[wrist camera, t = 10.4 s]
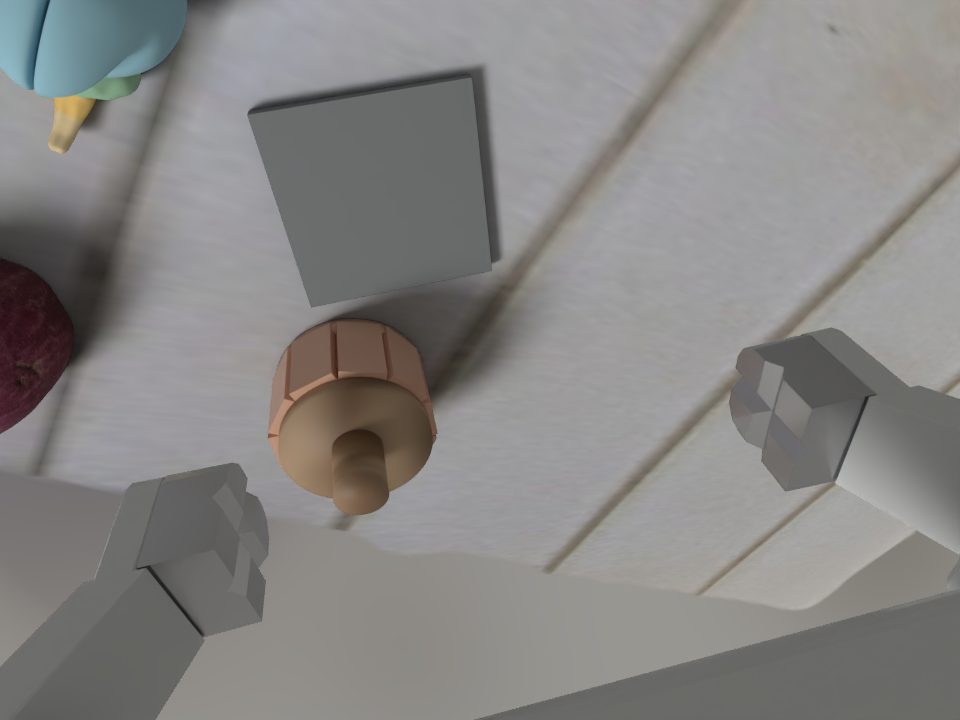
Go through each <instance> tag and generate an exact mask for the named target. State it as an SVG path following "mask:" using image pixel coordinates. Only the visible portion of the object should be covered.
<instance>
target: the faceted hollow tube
mask: <svg viewBox="0 0 960 720" xmlns="http://www.w3.org/2000/svg"><path fill="white" fill-rule="evenodd" d="M348 377H373V378H379V379H384V380H387V381H391V382H393V383H396V384H398V385H400V386H402V387H404V388H406V389H407V390H409V391H410V392H412V393H413V394H414V395H415V396H416V397H417V398H418V399H419V400H420V401H421V402H422V404H423V405H424V407H425V409H426V411H427V413H428V416H429V420H430V424H431V429H432V435H433V443H434V442H435V440H436V434H438V433H437V429H436V424H435V419H434V414H433V410H432V405H431V400H430V396H429V391H428V387H427V383H426V378H425V374H424V370H423V365H422V361H421V357H420V352H419V353H418V352H417V348H416V347H414V346H413V344H412V343H411V342H410V341H409V340H408V339H407V338H406V337H405V336H404V335H402V334H401V333H400V332H398V331H397V330H395V329H393V328H391V327H389V326H387V325H385V324H382V323H379V322H375V321H371V320H365V319H340V320H334V321H330V322H326V323H323V324H320V325H317V326H315V327H313V328H311V329H309V330H307V331H305V332H304V333H303V334H301V335H300V336H298V337H297V338H296V339H295V340H294V341H293V342H292V343H291V344H290V345H289V346H288V347H287V349H286V350H285V351H284V353H283V355H282V357H281V359H280V361H279V364H278V368H277V371H276V373H275V375H274V377H273V384H272V395H271V405H270V416H269V427H268V440H269V442H270V444H271V446H272V448H273V450H274V453H275V455H276V457H277V459H278V461H279V464H280V466H281V468H282V469H283V467H282V465H281V463H280V460H279V455H278V442H279V430H280V425H281V422H282V420H283V417H284V415H285V414H286V412H287V410H288V409H289V408H290V406H291V405H292V404H293V403H294V402H295V401H296V400H297V399H298V398H299V397H300V396H302V395H303V394H305V393H306V392H308V391H309V390H311V389H313V388H315V387H317V386H319V385H321V384H324V383H326V382H329V381H333V380H337V379H342V378H348Z"/></svg>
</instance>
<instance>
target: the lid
mask: <svg viewBox="0 0 960 720" xmlns="http://www.w3.org/2000/svg"><path fill="white" fill-rule="evenodd" d="M432 445H433V435H432V429H431V424H430V420H429V416H428V413H427V411H426V409H425V407H424V405H423V404H422V402H421V401H420V400H419V399H418V398H417V397H416V396H415V395H414V394H413V393H412V392H410V391H409V390H407V389H406V388H404V387H402V386H400V385H398V384H396V383H393V382H391V381H387V380H384V379H379V378H373V377H348V378H342V379H337V380H333V381H329V382H326V383H324V384H321V385H319V386H317V387H315V388H313V389H311V390H309V391H308V392H306V393H305V394H303V395H302V396H300V397H299V398H298V399H297V400H296V401H295V402H294V403H293V404H292V405H291V406H290V408H289V409H288V410H287V412H286V414H285V415H284V417H283V420H282V422H281V425H280V430H279V442H278V455H279V460H280V463H281V465H282V467H283V469H284V471H285V472H286V474H287V475H288V476H289V477H290V479H292V480H293V481H294V482H295V483H296V484H297V485H299V486H300V487H302V488H303V489H305V490H307V491H309V492H311V493H314V494H317V495H320V496H323V497H327V498H333V501H334V504H335V506H336V507H337V508H338V509H339V510H341V511H342V512H344V513H347V514H352V515H364V514H368V513H372V512H374V511H376V510H378V509H380V508H381V507H382V506H383V505H384V504H385V503H386V502H387V500H388V498H389V492H390V491H392V490H394V489H396V488H398V487H400V486H402V485H403V484H405V483H407V482H408V481H409V480H411V479H412V478H413V477H414V476H415V475H416V474H417V473H418V472H419V471H420V470H421V469H422V468H423V466H424V465H425V463H426V462H427V460H428V458H429V456H430V453H431V450H432Z"/></svg>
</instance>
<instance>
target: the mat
mask: <svg viewBox="0 0 960 720" xmlns="http://www.w3.org/2000/svg"><path fill="white" fill-rule="evenodd" d="M248 118H249V121H250V124H251V127H252V130H253V133H254V136H255V139H256V143H257V146H258V149H259V152H260V155H261V158H262V161H263V164H264V167H265V170H266V173H267V176H268V179H269V182H270V185H271V188H272V191H273V194H274V197H275V200H276V203H277V206H278V209H279V212H280V215H281V218H282V221H283V224H284V227H285V230H286V233H287V236H288V239H289V242H290V245H291V248H292V251H293V254H294V257H295V260H296V263H297V266H298V269H299V272H300V275H301V278H302V281H303V284H304V287H305V290H306V293H307V296H308V299H309V302H310V305H311V307H316V306H321V305H326V304H331V303H335V302H340V301H345V300H350V299H355V298H360V297H365V296H370V295H375V294H380V293H385V292H390V291H395V290H400V289H405V288H410V287H415V286H420V285H425V284H430V283H435V282H439V281H444V280H449V279H454V278H459V277H464V276H469V275H474V274H479V273H484V272H489V271H492V265H491V255H490V246H489V236H488V227H487V217H486V208H485V198H484V188H483V179H482V169H481V160H480V150H479V141H478V131H477V121H476V112H475V102H474V93H473V83H472V77H471V76H470V75H469V74H468V75H462V76H456V77H450V78H444V79H438V80H432V81H426V82H420V83H413V84H407V85H401V86H395V87H389V88H383V89H377V90H371V91H365V92H359V93H353V94H347V95H341V96H335V97H329V98H323V99H317V100H311V101H305V102H299V103H293V104H287V105H281V106H275V107H269V108H263V109H257V110H251V111H249V112H248Z"/></svg>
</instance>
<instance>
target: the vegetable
mask: <svg viewBox="0 0 960 720" xmlns="http://www.w3.org/2000/svg"><path fill="white" fill-rule="evenodd" d="M73 336H74V334H73V326H72V324H71V320H70V318H69V316H68V314H67V313H66V312H65V310H64V308H63V306H62V304H61V303H60V301H59V300H58V298H57V297H56V295H55V294H54V293H53V291H52V290H51V288H50V287H49V286H48V285H47V284H46V282H44V280H43V279H41V278H40V277H39V276H38V275H36V274H35V273H33V272H32V271H31V270H29V269H28V268H25V267H24V266H22V265H17V264H15V263H12V262H10V261H7V260H3V259H1V258H0V434H1V433H2V432H4V431H6V430H8V429H9V428H11V427H13V426H14V425H15V424H17V423H18V422H19V421H21V420H22V419H23V418H25V417H26V416H27V415H28V414H29V413H30V412H32V411H33V410H34V409H35V408H36V406H37V405H38V404H39V403H40V402H41V400H42V399H43V398H44V397H45V395H46V394H47V393H48V392H49V391H50V390H51V389H52V388H53V386H54V385H55V383H56V382H57V381H58V379H59V378H60V376H61V375H62V373H63V371H64V369H65V367H66V365H67V363H68V360H69V358H70V357H71V351H72V346H73Z"/></svg>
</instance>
